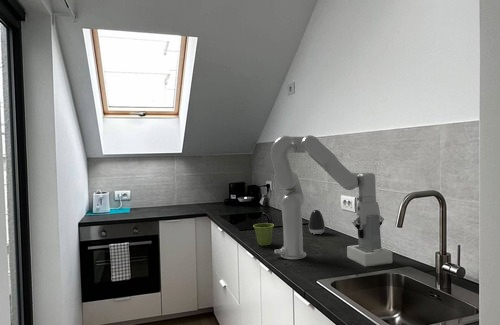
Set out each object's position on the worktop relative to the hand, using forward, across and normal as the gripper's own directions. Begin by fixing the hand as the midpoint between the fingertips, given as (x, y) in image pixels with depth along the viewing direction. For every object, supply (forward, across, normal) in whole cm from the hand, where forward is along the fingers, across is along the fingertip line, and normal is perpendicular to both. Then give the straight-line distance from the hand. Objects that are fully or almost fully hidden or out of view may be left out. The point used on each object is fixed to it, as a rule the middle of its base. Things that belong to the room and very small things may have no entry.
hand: (368, 236), depth 164 cm
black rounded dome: (+11, +2, +59) cm, 60 cm away
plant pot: (+11, -37, +46) cm, 60 cm away
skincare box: (+6, 0, 0) cm, 6 cm away
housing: (+11, 0, 0) cm, 11 cm away
